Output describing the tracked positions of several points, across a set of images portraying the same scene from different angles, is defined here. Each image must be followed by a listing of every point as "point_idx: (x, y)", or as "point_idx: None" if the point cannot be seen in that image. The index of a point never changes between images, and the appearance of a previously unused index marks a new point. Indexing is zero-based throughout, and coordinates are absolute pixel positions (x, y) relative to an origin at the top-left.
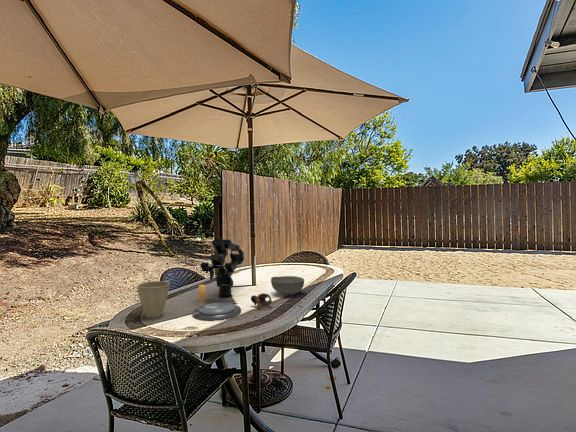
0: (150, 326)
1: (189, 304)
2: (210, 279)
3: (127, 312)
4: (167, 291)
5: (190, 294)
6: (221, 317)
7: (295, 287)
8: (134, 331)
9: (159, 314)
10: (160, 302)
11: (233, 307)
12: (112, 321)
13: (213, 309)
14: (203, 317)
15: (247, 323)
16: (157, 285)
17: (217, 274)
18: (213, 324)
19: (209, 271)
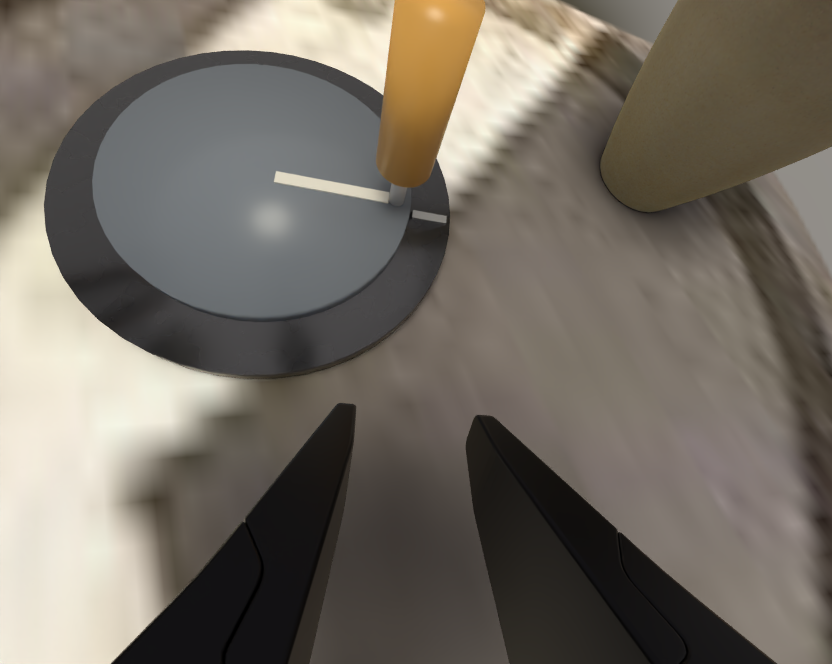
0: (555, 48)
1: (571, 416)
2: (481, 417)
3: (794, 239)
4: (702, 12)
5: None
6: (203, 56)
7: None
8: (579, 11)
9: (606, 145)
10: (649, 52)
11: (106, 168)
12: None
13: (285, 135)
14: (327, 66)
15: (7, 2)
16: None
17: (310, 503)
18: (247, 23)
19: (730, 627)
